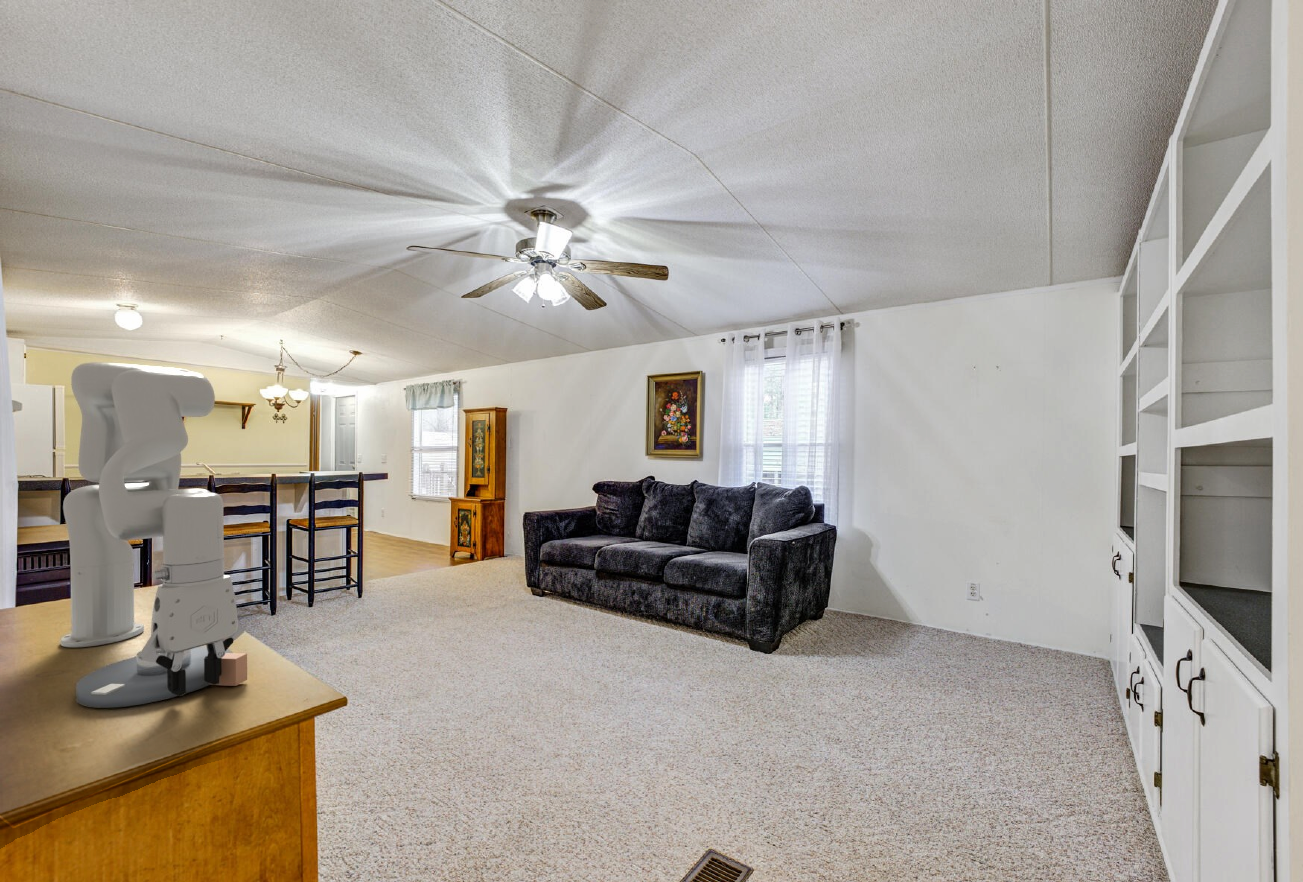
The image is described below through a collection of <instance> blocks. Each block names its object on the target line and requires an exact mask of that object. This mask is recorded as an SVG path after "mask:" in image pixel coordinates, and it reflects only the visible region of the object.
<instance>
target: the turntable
mask: <svg viewBox="0 0 1303 882" xmlns="http://www.w3.org/2000/svg"><path fill="white" fill-rule="evenodd" d="M205 656H208V651H207V646H200V647H197V648H193V649H191V664H190V665H189V666H187V667H185V668H183V669H185V671H186V693H185V694H189V693H192V692H194V691H197V690H200V689H203V688H206V687H207V686H227V687H228V686H230V687H231V686H235V687H236V686H238V685H240V684H242V683H244V682H245V681H247V680H248V653H242V652H241V653H239V652H232V650H230V649H229V648H228V649H227V650H226V651H225V655H224V657H222V658H221V666H222V673H221V676H219V684H216V685H214V684H211V683H208V682H205V680H204V658H205ZM75 688H76V690H75V691H76V692H75V693H76V696H75V697H76V698H75V699H76V702H77V703H78V704H80V705H81V706H84V707H89V708H98V709H99V708H103V709H105V708H106V709H108V708H121V707H123V708H124V707H130V706H138V705H145V704H149V703H150V704H151V703H153V702H154V703H155V702H158V701H162V700H168V699H172V698H175V697H178V696H177V695H175V694H173V693H171V691H169V690H168V687H167V674H163V675H156V676H139V675H137V657H136V656H134V657H130V658H126V659H122V660H120V661H116V662H113V663H110V664H108V665H105V666H102V667H100V668H98V669H95V670H93V671H91V672H89V673H88V674H86V675H84V676H83V677H81V678H80V679H79V680H78V681H77V683H76V684H75ZM185 694H184V695H185Z"/></svg>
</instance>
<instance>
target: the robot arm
mask: <svg viewBox="0 0 1303 882" xmlns="http://www.w3.org/2000/svg"><path fill="white" fill-rule="evenodd" d="M70 382H71V383H70V385H71V390H72V393H73V395H74V398H75V400H76V402H77V404H78V406H79V407H78V408H79V409H80V413H81V428H80V438H79V449H78V450H79V451H78V471H79V475H80V476H81V477H82V478H83V479H84V480H86V481H88V482H91V483H97V484H93V485H85V486H82V487H78V488H76V489H73V490H71V491H70V492H68V494H67V495H66V496H65V497H64V500H63V505H62V510H63V516H64V519H65V520H64V521H65V523H66V528H67V534H68V540H69V555H70V614H71V615H70V623H71V625H70V627H71V628H70V629H71V632H70V633H68V634H66V635H64V636H62V637H61V638H60V641H59V642H60V643H59V644H60V646H62V647H65V648H72V649H73V648H86V647H87V648H88V647H89V648H90V647H95V646H102V645H107V644H112V643H116V642H121V641H124V640H128V639H131V638H134V637H136V636H138V635H140V634H141V633H143V632H144V631H145V625H144V624H143V623H142V622H141V623H140V622H135V575H134V573H135V572H134V569H135V566H134V563H135V561H134V555H135V554H134V549H133V547H132V545H131V544H130V542H128V541H135V540H144V539H154V538H162V564H161V565H160V566H161V567H160V569H158V570H153V571H152V572H151V578H152V580H153V581H157V580H158V581H161V582H162V584H161V583H160V584H158V586H157V590H156V594H155V597H154V600H153V601H154V602H153V607H152V615H151V616H152V617H151V628H150V637H149V639H148V640H147V641H146V643H145V645H144V646H143V647H142V649H141V652H140V651H139V652H140V654H139V656H138V657H139V658H140V659H142V660H145V661H149V662H153V663H157V664H159V665H161V666H163V667H164V668H166V669H167V687H168V690H169V691H171V693H173V694H175V695H177V696H176V697H181V696H185V693H186V671H185V669H182V660H183V655H184V651H186V650H189V649H193V648H197V647H207V651H208V656H205V658H204V680H205V682H208V683H211V684H214V685H213V686H217V685H216V684H219V676H221V673H222V666H221V658H222V657H224V655H225V651H226V650H227V649H228V650H229V648H230V647H231V646H232V644H233V643H234V641H236V640H237V639H238V638H239V637H240V636H242V635H243V634H244V633H245V630H246V629H245V628H244V626H242V624H241V623H240V622H239V621H238V610H237V601H236V594H235V589H234V585H233V581H232V578H231V575H229V574H225V562H224V561H225V559H224V558H225V557H224V555H225V552H224V551H225V550H224V548H225V547H224V539H225V538H224V500H223V498H222V496H221V495H220V494H219V493H216V492H211V491H210V490H208V489H204V488H197V487H196V488H180V489H179V485H180V478H181V477H180V476H181V470H182V451H184V450H185V449H186V447H187V446H188V444H189V436H188V433H187V430H186V427H185V423H184V419H183V418H184V417H185V418H187V417H188V418H202V417H205V416H208V415H210V413H211V412H212V411H213V410H214V406H215V401H216V394H215V391H214V387H213V385H212V383H211V382H210V380H209V379H208V378H207V377H206V376H205V375H203V374H201V373H199V372H195V371H192V370H188V369H184V368H177V367H176V368H175V367H168V366H165V367H163V366H154V365H142V364H141V365H140V364H132V363H131V364H130V363H118V362H98V361H97V362H96V361H95V362H93V361H92V362H85V363H81V364H80V363H79V365H77V366H75V367H74V369H73V370H72V373H71V380H70ZM157 649H161V650H162V651H165V652H166V653H165V656H164V655H161V654H157V653H156V650H157ZM186 694H187V693H186Z"/></svg>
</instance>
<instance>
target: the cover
mask: <svg viewBox="0 0 1303 882" xmlns="http://www.w3.org/2000/svg"><path fill="white" fill-rule="evenodd" d="M141 651H142V650H141ZM141 651H139V652H137V654H136V656H135V657H137V675H139V676H156V675H163V674H167V669H166V668H164V667H163V666H161V665H159V664H157V663H153V662H149V661H145V660H142V659H140V658H139V657H138V656H139V654H140V652H141ZM156 653H157V654H161V655H164V656H165V653H166V652H165V651H162V650H161V649H157V650H156ZM190 664H191V649H189V650H186V651H184V655H183V660H182V669H183V668H185V667H187V666H189V665H190Z"/></svg>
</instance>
